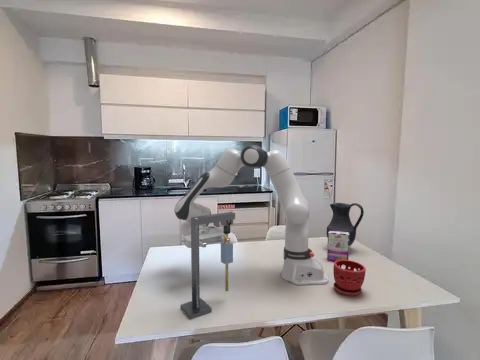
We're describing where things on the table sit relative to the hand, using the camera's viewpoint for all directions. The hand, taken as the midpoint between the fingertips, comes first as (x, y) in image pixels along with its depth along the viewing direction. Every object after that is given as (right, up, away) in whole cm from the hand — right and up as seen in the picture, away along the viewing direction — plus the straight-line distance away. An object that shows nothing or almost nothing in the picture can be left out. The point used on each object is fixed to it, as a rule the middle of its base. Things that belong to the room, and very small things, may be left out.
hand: (214, 243), depth 128 cm
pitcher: (+74, -16, +53) cm, 93 cm away
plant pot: (+59, -22, +2) cm, 63 cm away
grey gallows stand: (-1, -22, -10) cm, 25 cm away
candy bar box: (+66, -18, +37) cm, 77 cm away
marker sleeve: (+6, -6, -8) cm, 11 cm away
